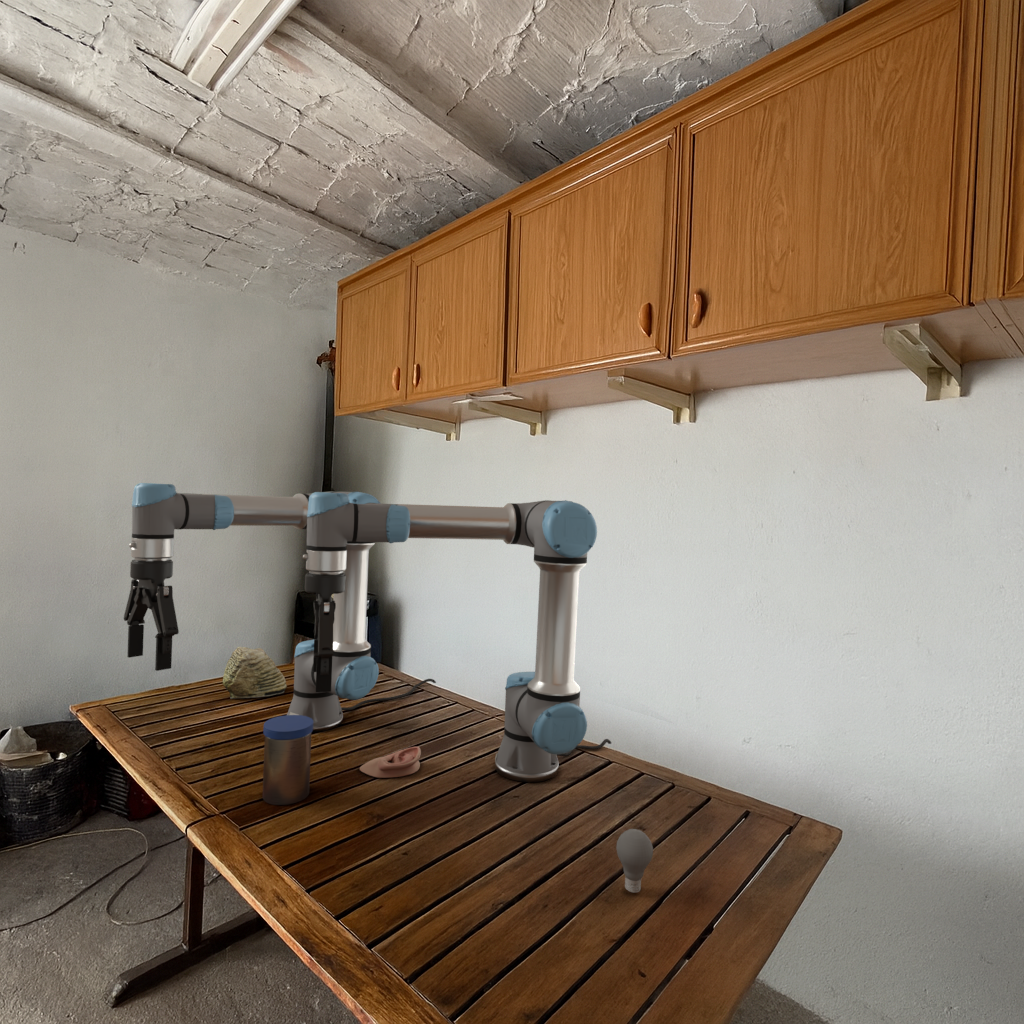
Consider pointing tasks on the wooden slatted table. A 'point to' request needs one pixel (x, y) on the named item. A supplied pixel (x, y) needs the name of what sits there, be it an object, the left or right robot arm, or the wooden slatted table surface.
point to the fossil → (252, 674)
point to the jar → (286, 770)
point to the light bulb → (634, 857)
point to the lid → (288, 727)
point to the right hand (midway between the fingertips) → (321, 681)
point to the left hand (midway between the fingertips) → (148, 662)
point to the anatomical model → (394, 764)
